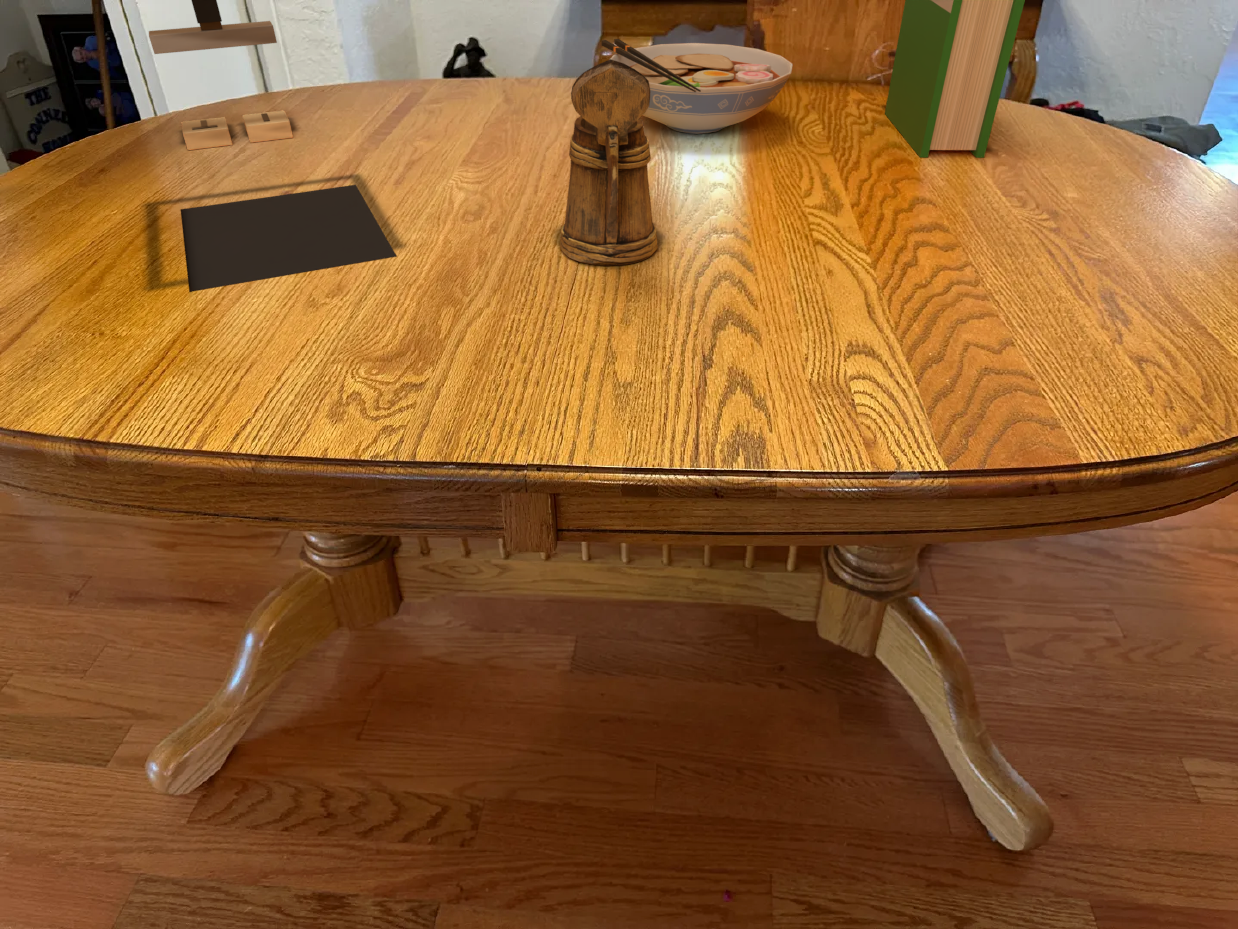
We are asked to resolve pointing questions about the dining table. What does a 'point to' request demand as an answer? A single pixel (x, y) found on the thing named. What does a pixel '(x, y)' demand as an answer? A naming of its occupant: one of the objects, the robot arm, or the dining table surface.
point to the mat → (279, 236)
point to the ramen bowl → (705, 82)
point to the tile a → (206, 133)
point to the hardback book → (951, 72)
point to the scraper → (212, 36)
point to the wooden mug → (609, 169)
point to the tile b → (267, 126)
